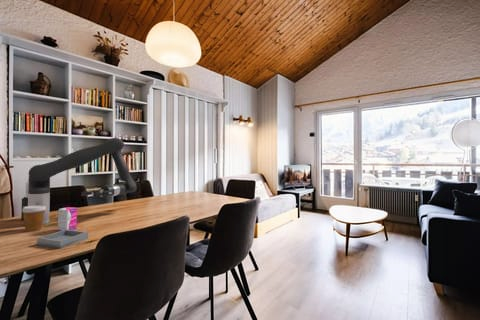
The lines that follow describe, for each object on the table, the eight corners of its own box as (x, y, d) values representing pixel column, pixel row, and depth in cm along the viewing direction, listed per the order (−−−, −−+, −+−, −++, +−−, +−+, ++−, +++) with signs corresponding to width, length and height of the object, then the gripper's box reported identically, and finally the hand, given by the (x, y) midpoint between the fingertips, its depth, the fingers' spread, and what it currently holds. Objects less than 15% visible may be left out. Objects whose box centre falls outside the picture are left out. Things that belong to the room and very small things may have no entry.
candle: (36, 218, 138) (37, 177, 138) (25, 220, 133) (26, 178, 133) (30, 217, 140) (31, 177, 140) (20, 219, 135) (21, 177, 135)
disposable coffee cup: (44, 230, 117) (45, 207, 117) (19, 233, 112) (19, 209, 112) (47, 226, 125) (47, 204, 125) (23, 228, 119) (24, 205, 119)
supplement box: (66, 232, 116) (67, 209, 116) (57, 231, 117) (57, 209, 117) (77, 228, 121) (77, 207, 121) (68, 228, 123) (68, 206, 123)
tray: (37, 245, 98) (37, 238, 98) (66, 235, 111) (66, 229, 111) (60, 248, 95) (60, 241, 95) (88, 238, 108) (88, 232, 108)
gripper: (101, 184, 147) (77, 187, 132) (119, 185, 144) (97, 188, 128) (101, 196, 148) (77, 200, 132) (119, 197, 144) (97, 202, 128)
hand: (87, 194), depth 130 cm, fingers open, 8 cm apart
